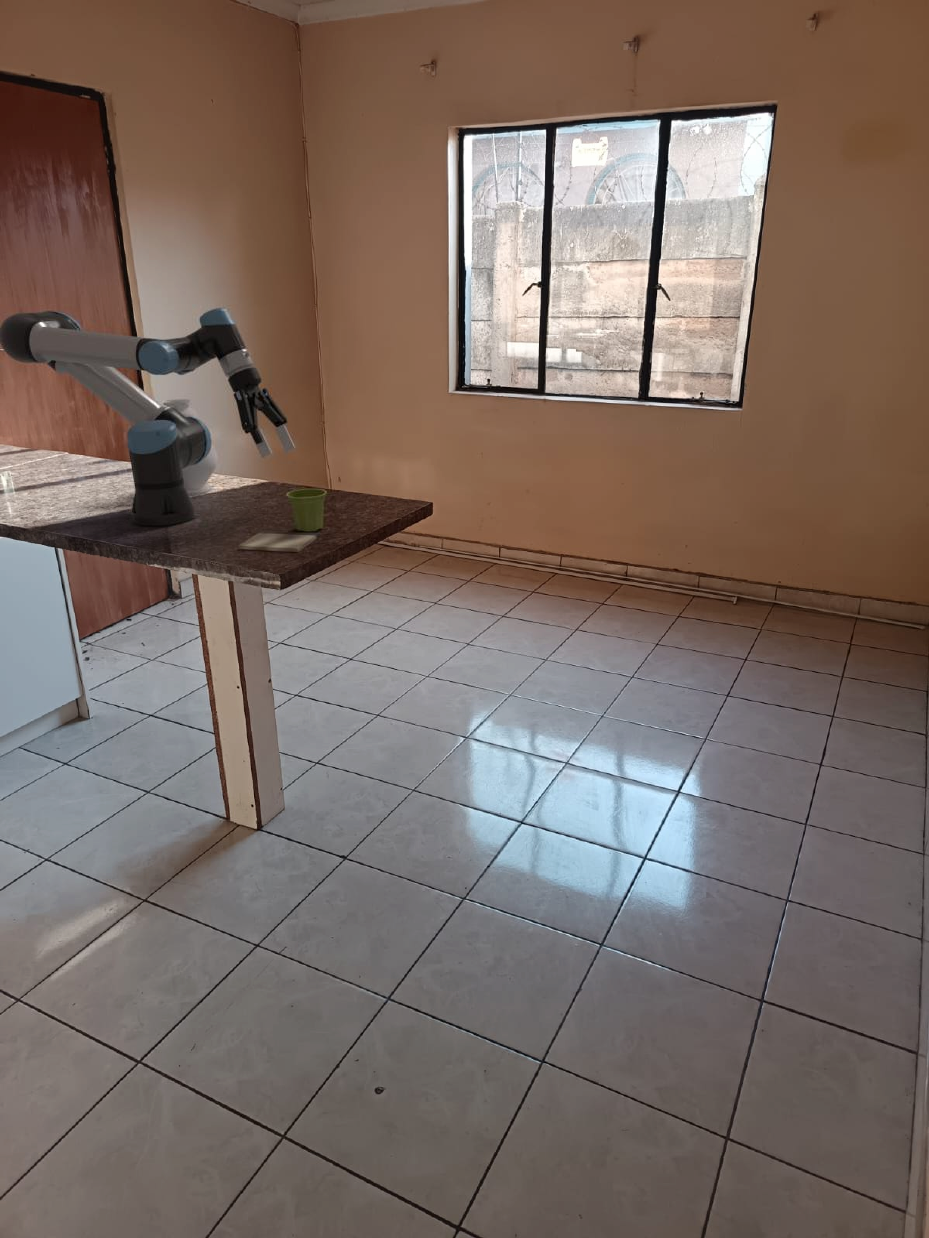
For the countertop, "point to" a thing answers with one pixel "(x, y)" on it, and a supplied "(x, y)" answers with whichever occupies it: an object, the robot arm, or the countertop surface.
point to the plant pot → (307, 508)
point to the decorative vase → (203, 470)
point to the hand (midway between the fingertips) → (279, 453)
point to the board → (279, 541)
